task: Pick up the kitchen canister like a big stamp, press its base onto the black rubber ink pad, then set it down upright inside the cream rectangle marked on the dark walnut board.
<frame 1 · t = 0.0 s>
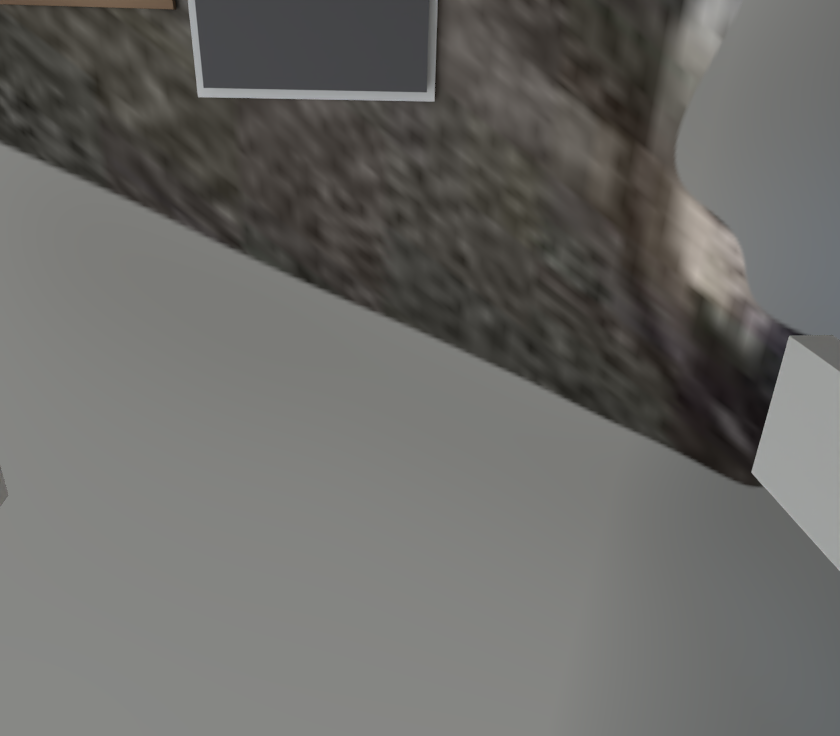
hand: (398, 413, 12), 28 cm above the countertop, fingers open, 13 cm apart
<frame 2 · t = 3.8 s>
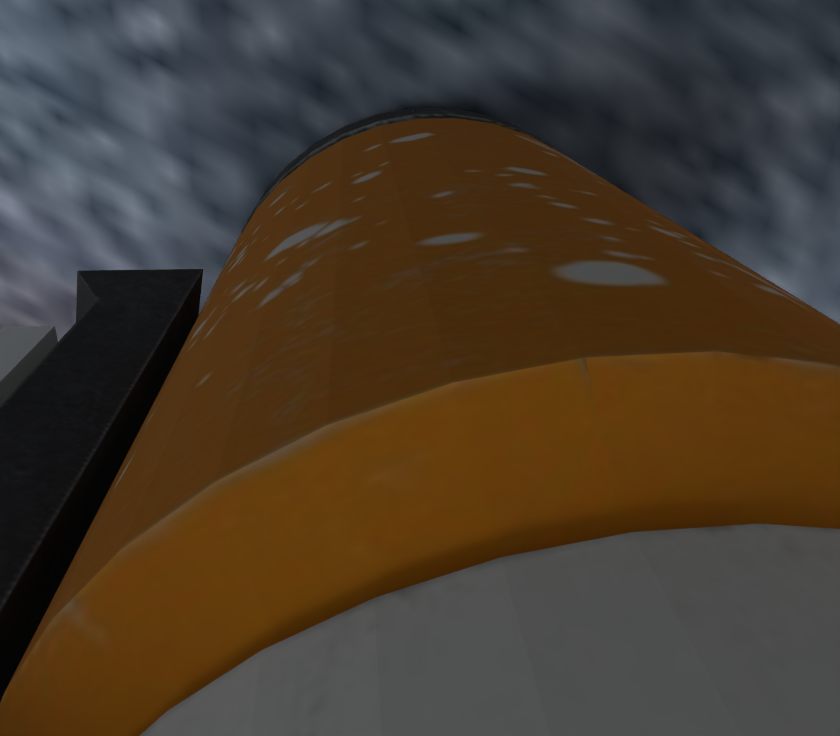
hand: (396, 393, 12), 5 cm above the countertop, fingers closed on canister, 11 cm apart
canister: (382, 290, 17), on the countertop, touching gripper
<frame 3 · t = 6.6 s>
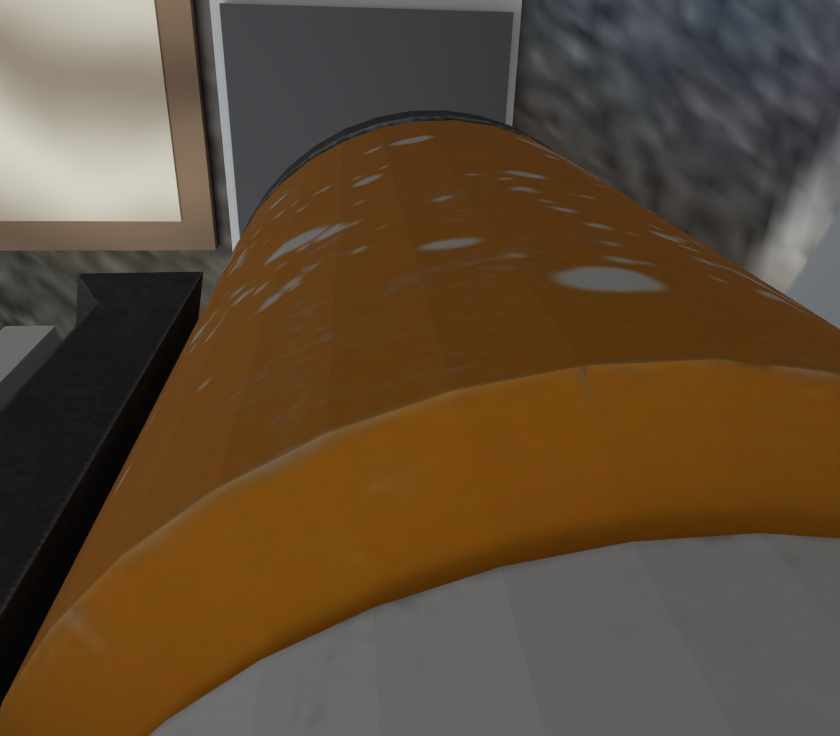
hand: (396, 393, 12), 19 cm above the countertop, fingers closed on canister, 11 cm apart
canister: (382, 292, 17), point 14 cm above the countertop, touching gripper
ink pad: (369, 176, 30), on the countertop
box board: (21, 51, 27), on the countertop
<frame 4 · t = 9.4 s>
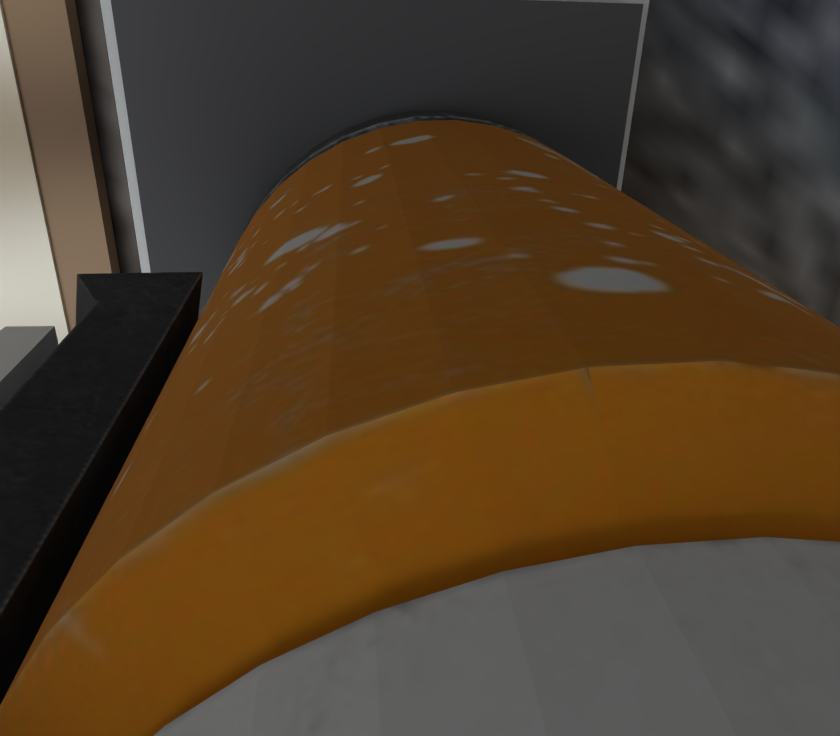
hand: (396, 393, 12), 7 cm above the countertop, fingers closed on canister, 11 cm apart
canister: (382, 292, 17), point 1 cm above the countertop, touching gripper, ink pad
ink pad: (381, 273, 18), on the countertop
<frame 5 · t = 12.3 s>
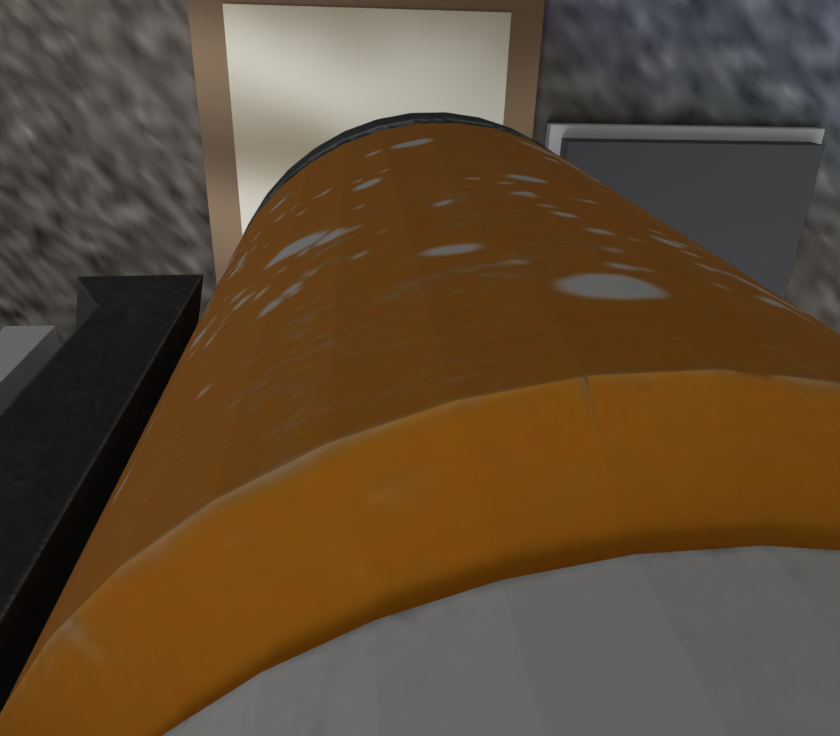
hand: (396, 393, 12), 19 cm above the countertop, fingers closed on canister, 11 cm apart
canister: (382, 294, 17), point 14 cm above the countertop, touching gripper
ink pad: (655, 281, 32), on the countertop
box board: (370, 178, 29), on the countertop
when the fingers open (7 cm above the countertop, at t = 14.9 s): canister drops 1 cm, resting on box board.
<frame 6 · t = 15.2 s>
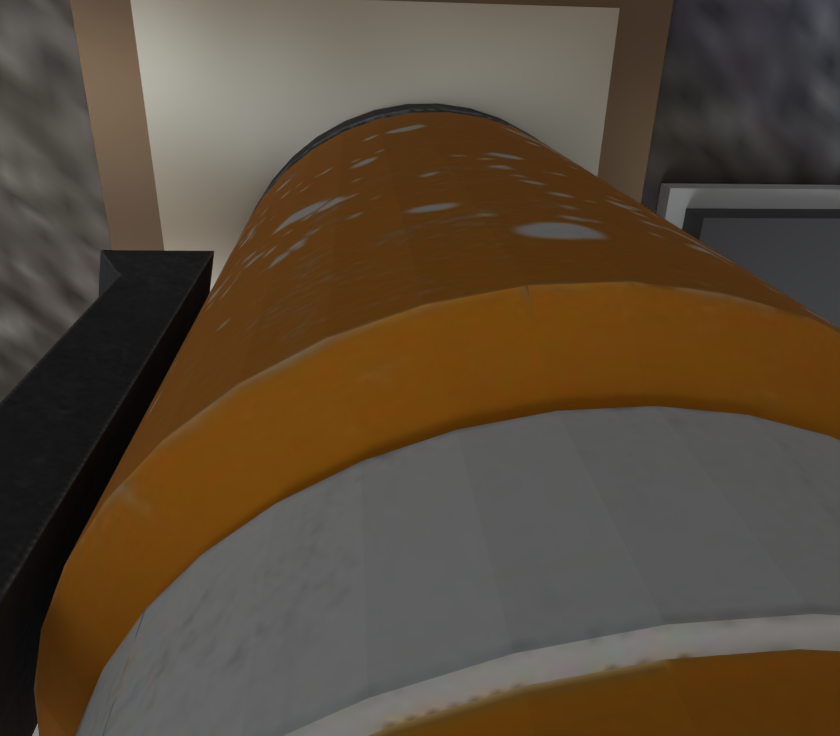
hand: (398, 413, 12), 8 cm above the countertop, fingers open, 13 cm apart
canister: (380, 276, 18), point 1 cm above the countertop, touching box board
ink pad: (804, 409, 22), on the countertop
box board: (380, 270, 18), on the countertop
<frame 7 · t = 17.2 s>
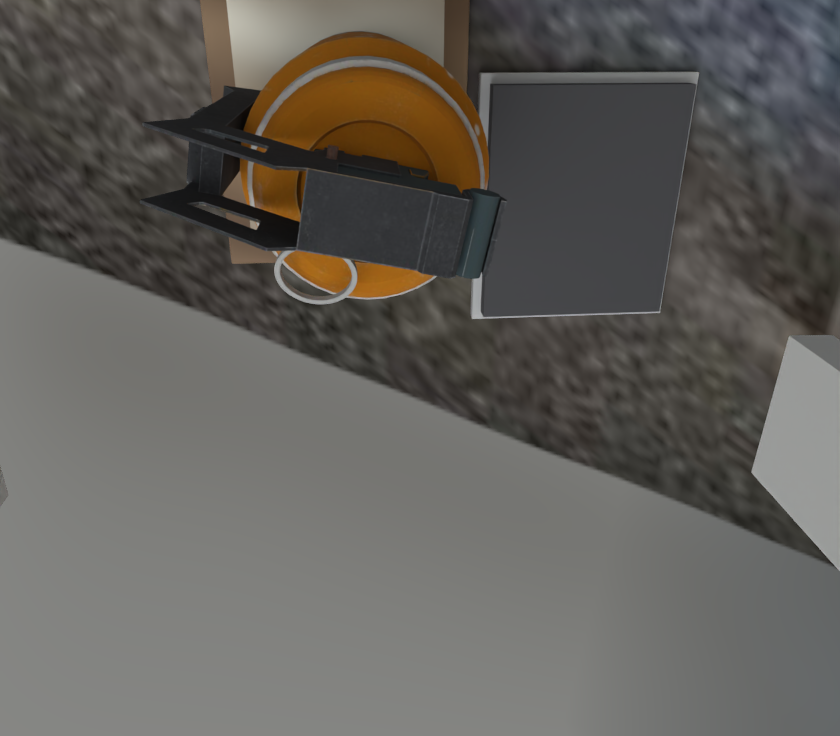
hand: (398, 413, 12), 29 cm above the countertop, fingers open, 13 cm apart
canister: (341, 121, 37), point 1 cm above the countertop, touching box board
ink pad: (575, 201, 40), on the countertop
box board: (342, 120, 37), on the countertop
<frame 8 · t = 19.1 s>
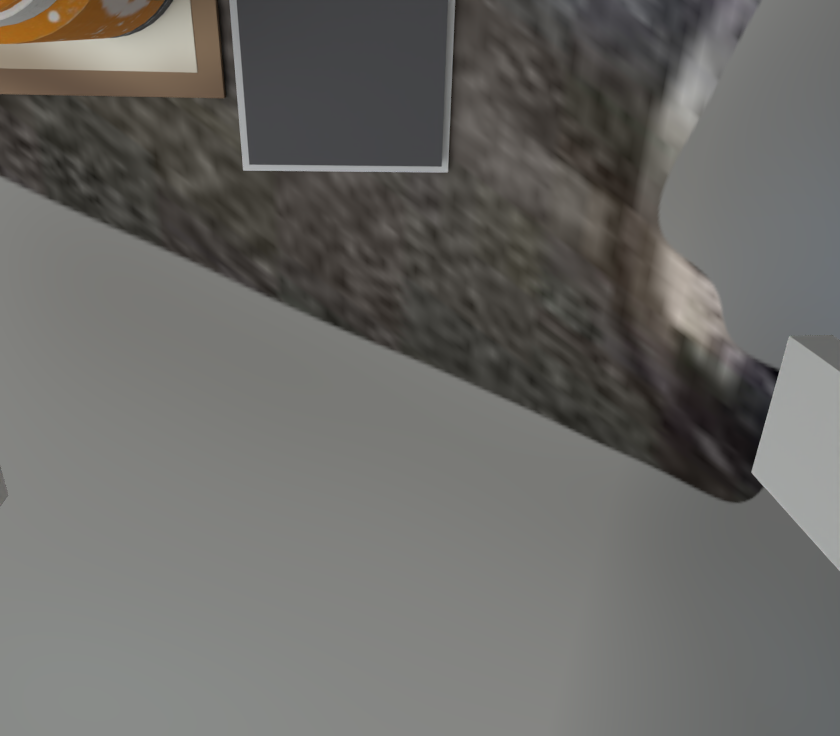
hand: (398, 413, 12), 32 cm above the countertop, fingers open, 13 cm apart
ink pad: (344, 39, 38), on the countertop
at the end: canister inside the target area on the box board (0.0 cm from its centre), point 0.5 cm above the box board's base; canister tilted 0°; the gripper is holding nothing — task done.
